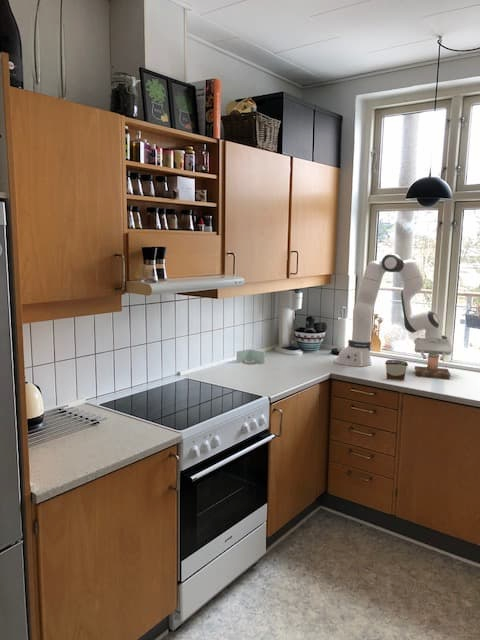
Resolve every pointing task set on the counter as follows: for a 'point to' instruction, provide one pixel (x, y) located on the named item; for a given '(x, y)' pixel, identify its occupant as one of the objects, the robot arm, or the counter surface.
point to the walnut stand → (432, 372)
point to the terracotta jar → (432, 362)
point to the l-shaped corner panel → (250, 356)
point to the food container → (395, 369)
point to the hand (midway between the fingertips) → (433, 359)
